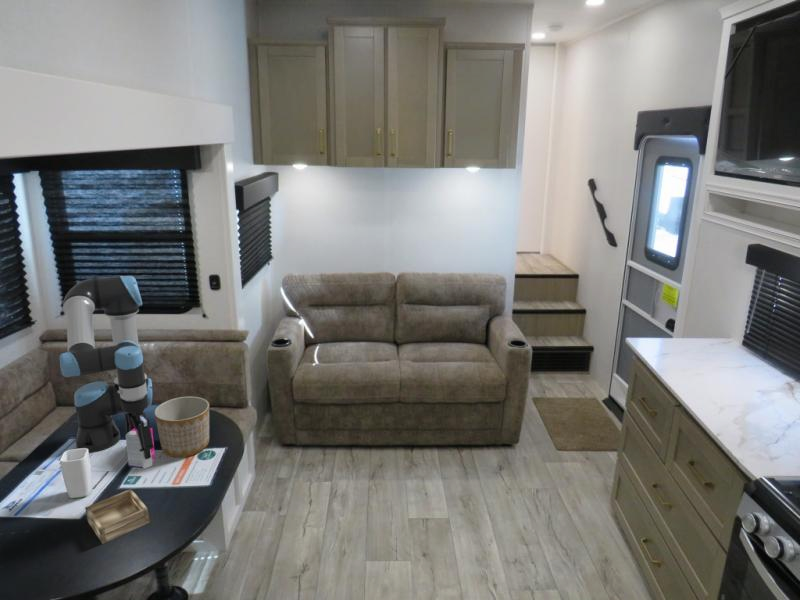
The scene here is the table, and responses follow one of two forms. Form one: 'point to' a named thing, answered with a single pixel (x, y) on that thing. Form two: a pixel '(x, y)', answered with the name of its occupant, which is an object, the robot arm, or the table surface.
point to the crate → (117, 515)
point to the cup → (76, 472)
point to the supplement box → (136, 449)
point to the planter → (183, 425)
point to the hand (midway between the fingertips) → (142, 460)
